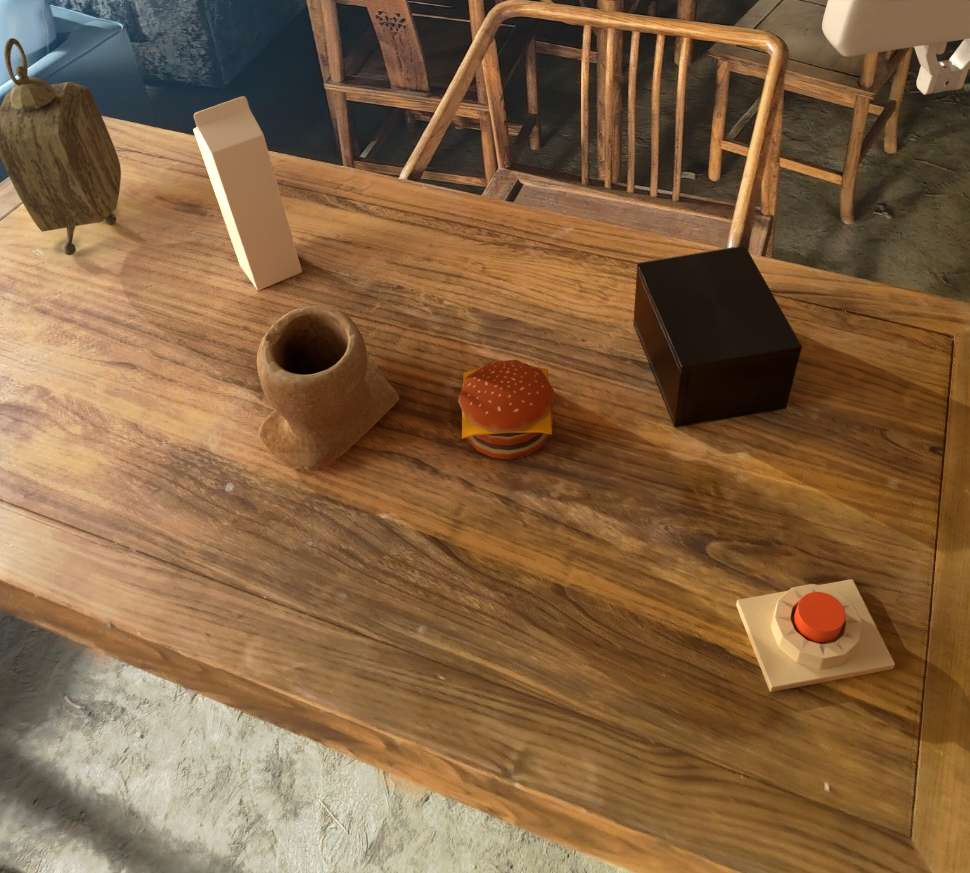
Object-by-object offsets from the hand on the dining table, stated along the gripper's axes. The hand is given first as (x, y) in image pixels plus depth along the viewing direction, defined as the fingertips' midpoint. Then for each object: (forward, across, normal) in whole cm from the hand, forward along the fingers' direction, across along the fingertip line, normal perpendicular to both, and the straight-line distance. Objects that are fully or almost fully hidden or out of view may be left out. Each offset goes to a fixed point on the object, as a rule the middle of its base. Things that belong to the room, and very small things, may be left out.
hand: (937, 88), depth 73 cm
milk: (+31, -60, +32) cm, 75 cm away
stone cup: (+31, -53, +4) cm, 62 cm away
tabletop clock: (+31, -83, +47) cm, 100 cm away
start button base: (+31, -16, -29) cm, 45 cm away
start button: (+28, -16, -29) cm, 43 cm away
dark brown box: (+31, -14, +4) cm, 34 cm away
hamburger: (+31, -36, 0) cm, 48 cm away
